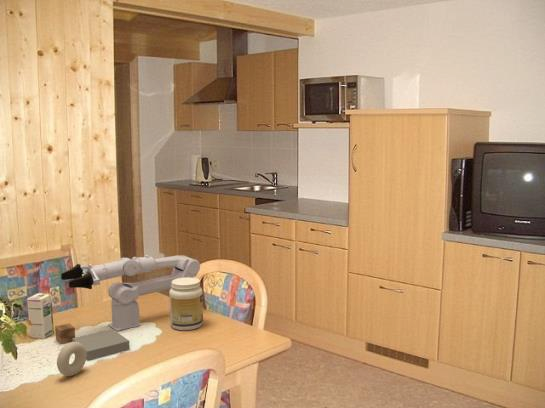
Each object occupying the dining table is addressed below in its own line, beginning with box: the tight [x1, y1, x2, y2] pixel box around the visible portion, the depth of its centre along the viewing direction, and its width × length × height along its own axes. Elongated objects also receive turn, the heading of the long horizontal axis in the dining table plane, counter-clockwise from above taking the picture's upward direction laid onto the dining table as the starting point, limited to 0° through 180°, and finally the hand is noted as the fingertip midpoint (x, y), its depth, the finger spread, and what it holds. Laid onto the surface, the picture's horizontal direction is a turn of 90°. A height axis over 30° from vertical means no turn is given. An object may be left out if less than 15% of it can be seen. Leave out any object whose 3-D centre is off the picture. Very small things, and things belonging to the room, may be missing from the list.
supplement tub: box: [168, 277, 204, 331], centre depth 203 cm, size 12×12×17 cm
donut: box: [56, 342, 87, 377], centre depth 163 cm, size 10×4×10 cm, turn 152°
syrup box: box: [26, 292, 55, 340], centre depth 194 cm, size 6×6×14 cm
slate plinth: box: [72, 328, 131, 362], centre depth 183 cm, size 14×14×3 cm
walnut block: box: [54, 322, 76, 346], centre depth 190 cm, size 5×5×5 cm
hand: (65, 280), depth 189 cm, fingers open, 7 cm apart
